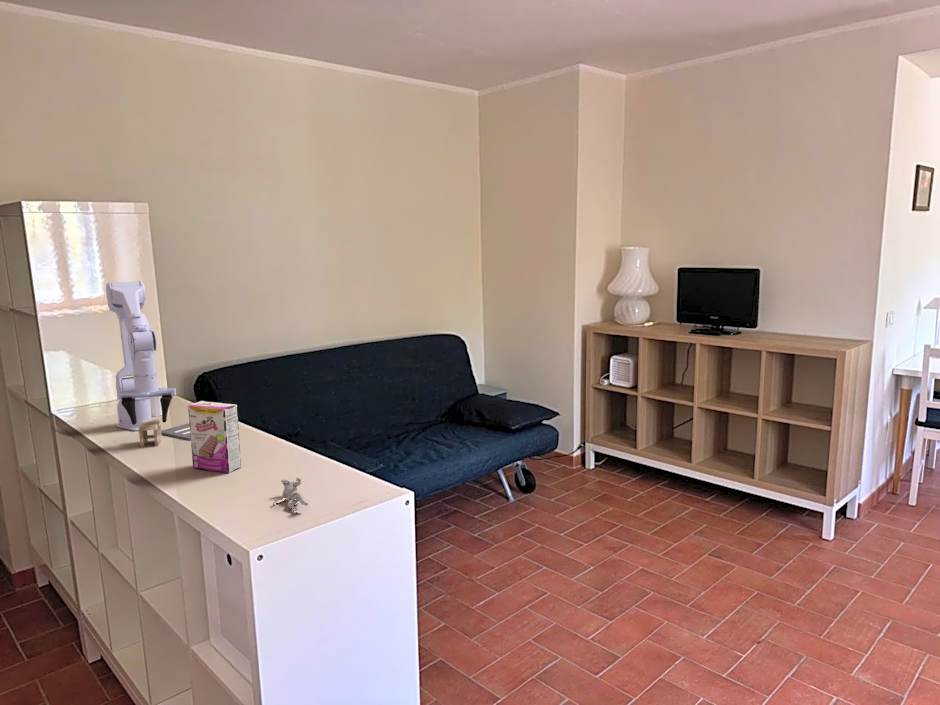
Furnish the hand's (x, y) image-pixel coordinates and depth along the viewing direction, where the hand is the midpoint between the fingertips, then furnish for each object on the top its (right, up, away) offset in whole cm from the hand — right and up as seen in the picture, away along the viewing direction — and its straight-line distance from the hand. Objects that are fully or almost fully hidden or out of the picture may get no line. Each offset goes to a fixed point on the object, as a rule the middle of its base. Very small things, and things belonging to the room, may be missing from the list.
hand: (149, 422), depth 180 cm
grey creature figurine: (+51, -13, -41) cm, 67 cm away
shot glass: (-13, -1, +32) cm, 35 cm away
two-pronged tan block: (0, -6, +1) cm, 6 cm away
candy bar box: (+26, -10, -19) cm, 34 cm away
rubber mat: (+6, -4, +11) cm, 13 cm away
